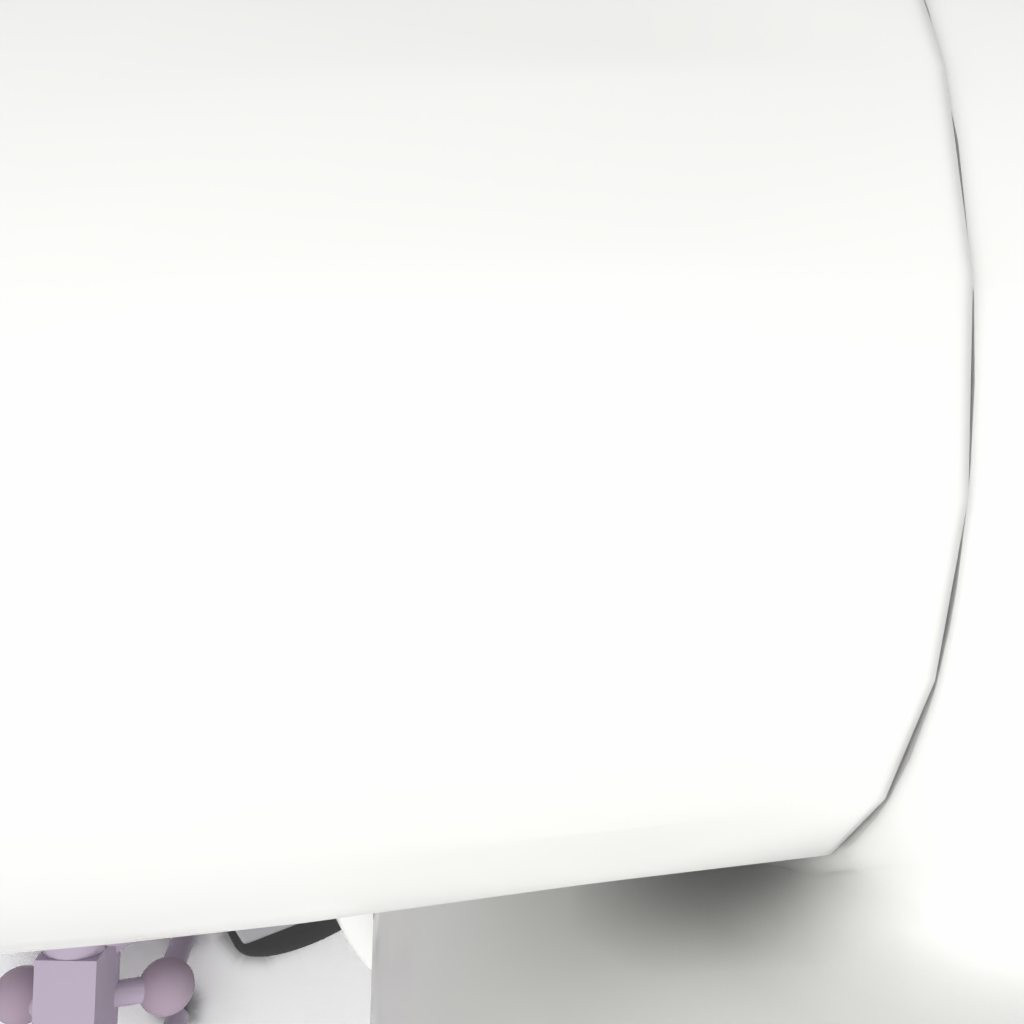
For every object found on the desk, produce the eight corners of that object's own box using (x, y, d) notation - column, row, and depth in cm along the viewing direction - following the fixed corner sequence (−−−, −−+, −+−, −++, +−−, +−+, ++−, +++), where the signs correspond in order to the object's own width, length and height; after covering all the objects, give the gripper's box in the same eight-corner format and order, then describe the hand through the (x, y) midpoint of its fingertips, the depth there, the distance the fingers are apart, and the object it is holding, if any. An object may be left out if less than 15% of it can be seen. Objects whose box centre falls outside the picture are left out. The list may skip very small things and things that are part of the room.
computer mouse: (412, 875, 63) (414, 902, 59) (245, 959, 62) (235, 992, 58) (369, 786, 63) (368, 807, 59) (199, 869, 62) (187, 897, 58)
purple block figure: (37, 715, 60) (-62, 783, 47) (222, 719, 62) (177, 786, 48) (24, 1047, 61) (-78, 1209, 47) (207, 1044, 62) (159, 1200, 49)
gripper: (910, 426, 18) (653, 451, 35) (18, 974, 16) (206, 720, 33) (1104, 786, 18) (759, 638, 35) (267, 1344, 17) (326, 909, 34)
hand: (492, 677), depth 34 cm, fingers open, 9 cm apart
